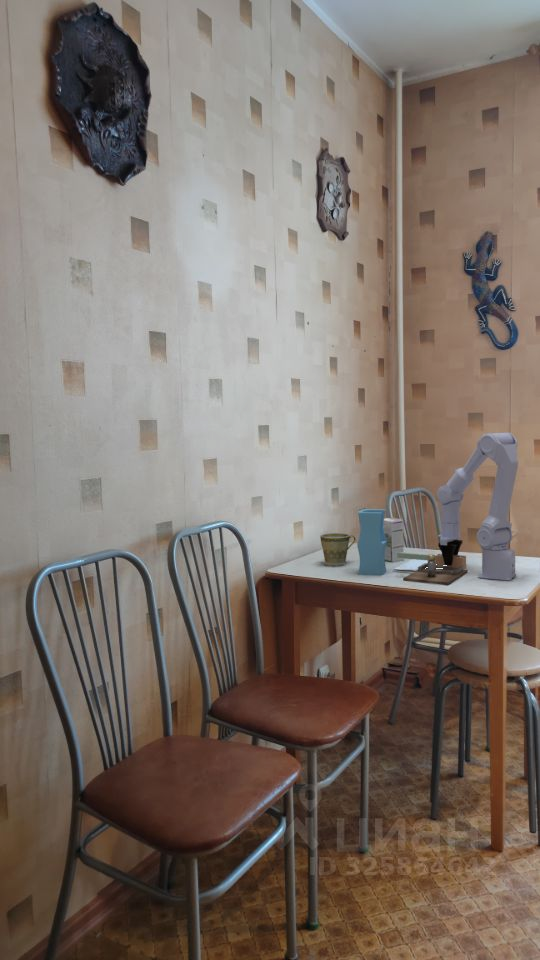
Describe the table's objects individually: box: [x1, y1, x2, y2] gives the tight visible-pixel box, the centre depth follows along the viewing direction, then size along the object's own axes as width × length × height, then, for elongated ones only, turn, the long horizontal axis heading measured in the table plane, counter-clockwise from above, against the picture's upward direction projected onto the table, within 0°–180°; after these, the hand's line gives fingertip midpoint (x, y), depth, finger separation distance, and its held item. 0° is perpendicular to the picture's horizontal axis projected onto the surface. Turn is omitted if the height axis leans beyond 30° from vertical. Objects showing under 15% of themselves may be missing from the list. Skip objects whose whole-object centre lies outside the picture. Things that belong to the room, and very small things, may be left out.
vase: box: [356, 508, 387, 577], centre depth 228 cm, size 8×8×20 cm
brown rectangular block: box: [435, 553, 467, 570], centre depth 232 cm, size 9×4×4 cm, turn 58°
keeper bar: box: [397, 551, 436, 562], centre depth 219 cm, size 12×2×2 cm, turn 58°
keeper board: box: [402, 560, 469, 586], centre depth 220 cm, size 14×19×6 cm
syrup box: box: [383, 517, 404, 563], centre depth 247 cm, size 6×6×14 cm
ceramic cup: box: [319, 532, 356, 567], centre depth 243 cm, size 13×10×10 cm
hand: (450, 563), depth 232 cm, fingers closed on brown rectangular block, 4 cm apart
